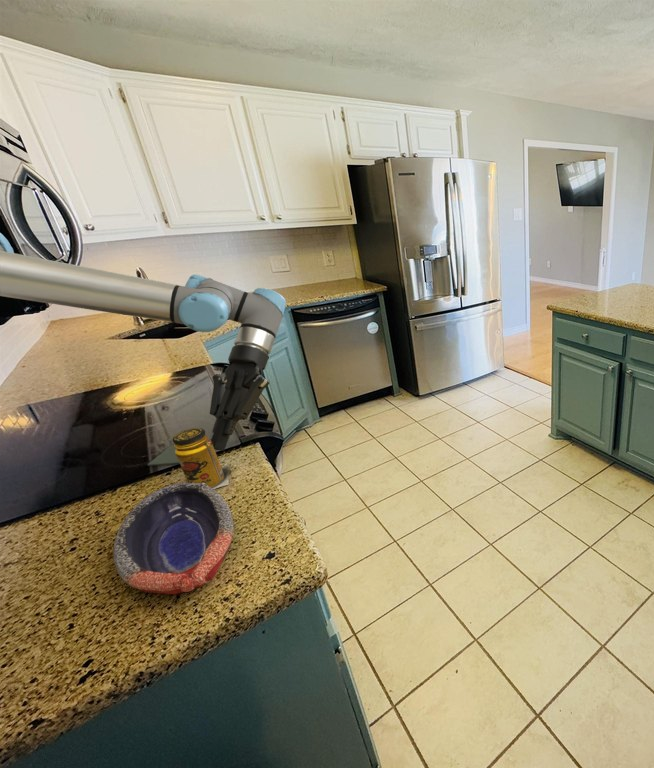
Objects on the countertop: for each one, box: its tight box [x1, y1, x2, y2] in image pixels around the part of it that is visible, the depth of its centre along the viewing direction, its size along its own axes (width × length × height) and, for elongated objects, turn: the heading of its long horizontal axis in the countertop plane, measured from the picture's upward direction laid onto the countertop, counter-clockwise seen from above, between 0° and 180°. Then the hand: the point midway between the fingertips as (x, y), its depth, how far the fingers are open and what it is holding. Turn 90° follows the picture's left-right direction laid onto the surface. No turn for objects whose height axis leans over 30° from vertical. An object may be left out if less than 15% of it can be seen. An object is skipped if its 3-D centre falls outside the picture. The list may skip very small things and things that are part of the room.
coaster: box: [147, 438, 212, 467], centre depth 96 cm, size 10×10×1 cm
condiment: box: [172, 427, 230, 490], centre depth 84 cm, size 7×8×12 cm
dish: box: [112, 482, 235, 595], centre depth 68 cm, size 16×31×5 cm, turn 41°
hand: (216, 449), depth 87 cm, fingers closed
